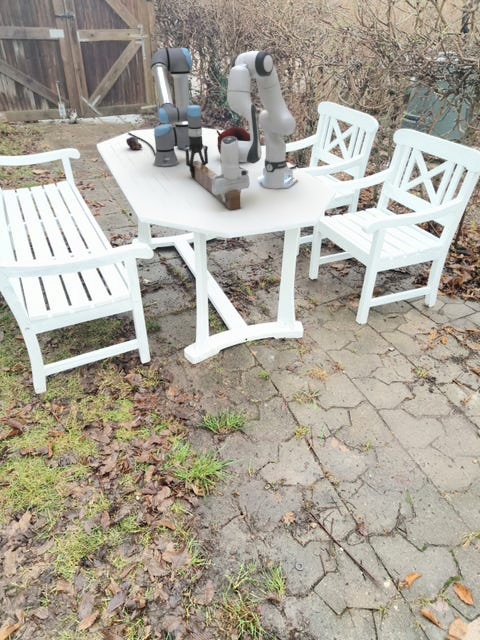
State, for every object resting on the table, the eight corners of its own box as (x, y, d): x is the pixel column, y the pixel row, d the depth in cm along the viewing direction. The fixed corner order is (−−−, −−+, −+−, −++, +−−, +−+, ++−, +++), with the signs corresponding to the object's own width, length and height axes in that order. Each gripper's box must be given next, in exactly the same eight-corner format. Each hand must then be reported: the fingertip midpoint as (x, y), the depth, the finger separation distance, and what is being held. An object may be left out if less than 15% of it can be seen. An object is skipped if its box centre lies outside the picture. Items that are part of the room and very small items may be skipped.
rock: (139, 148, 333) (125, 149, 329) (137, 135, 329) (123, 137, 325) (143, 149, 323) (130, 150, 319) (141, 136, 320) (128, 137, 316)
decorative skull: (214, 133, 304) (214, 130, 280) (248, 125, 303) (250, 121, 280) (221, 165, 311) (221, 165, 287) (254, 158, 310) (257, 157, 286)
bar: (190, 175, 271) (189, 161, 266) (199, 174, 273) (198, 160, 268) (230, 209, 225) (230, 193, 220) (240, 208, 226) (240, 192, 222)
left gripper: (181, 138, 248) (185, 180, 262) (213, 135, 254) (214, 176, 268) (177, 136, 254) (181, 177, 267) (208, 132, 260) (210, 173, 273)
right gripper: (214, 178, 213) (216, 206, 221) (251, 170, 222) (251, 197, 230) (208, 174, 218) (210, 202, 226) (244, 167, 226) (244, 194, 234)
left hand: (197, 176), depth 267 cm, fingers closed on bar, 5 cm apart
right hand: (231, 199), depth 228 cm, fingers closed on bar, 6 cm apart
